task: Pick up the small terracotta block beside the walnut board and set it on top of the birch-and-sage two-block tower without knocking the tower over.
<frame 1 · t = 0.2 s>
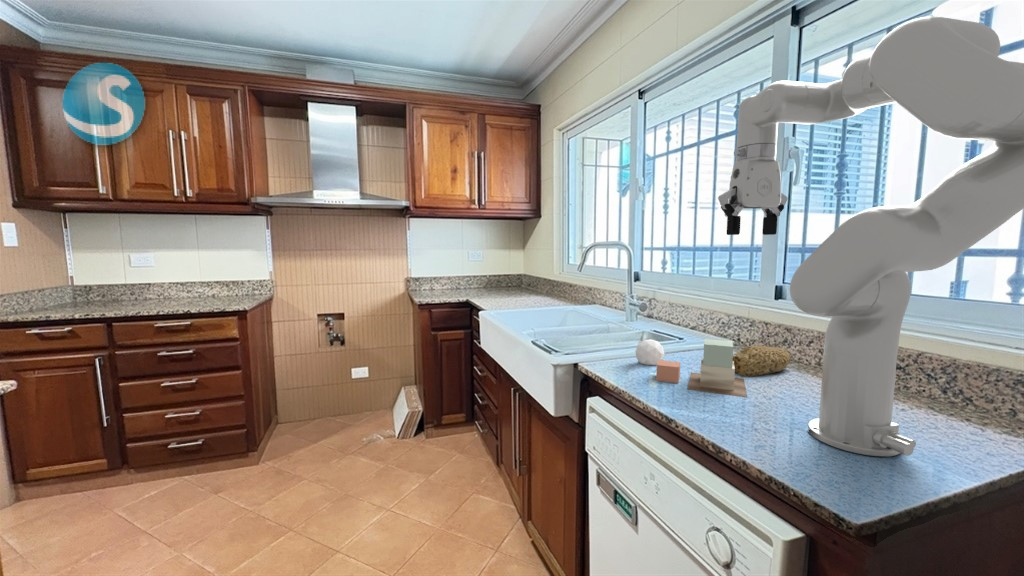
hand: (751, 234, 91), 36 cm above the worktop, tool pointing down, fingers open, 9 cm apart
sponge: (758, 372, 110), on the worktop
tower base block: (716, 383, 97), point 1 cm above the worktop, touching tower middle block, walnut board
ball: (649, 366, 116), on the worktop
tower middle block: (717, 363, 97), point 6 cm above the worktop, touching tower base block
terracotta block: (668, 383, 101), on the worktop
walnut board: (716, 387, 97), on the worktop
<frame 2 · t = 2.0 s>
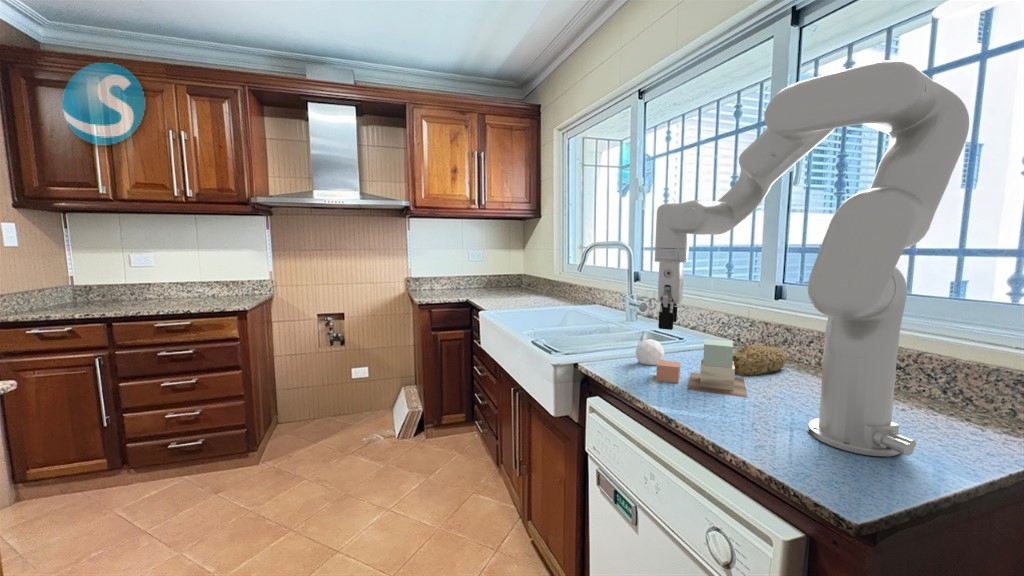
hand: (667, 325, 100), 14 cm above the worktop, tool pointing down, fingers open, 9 cm apart
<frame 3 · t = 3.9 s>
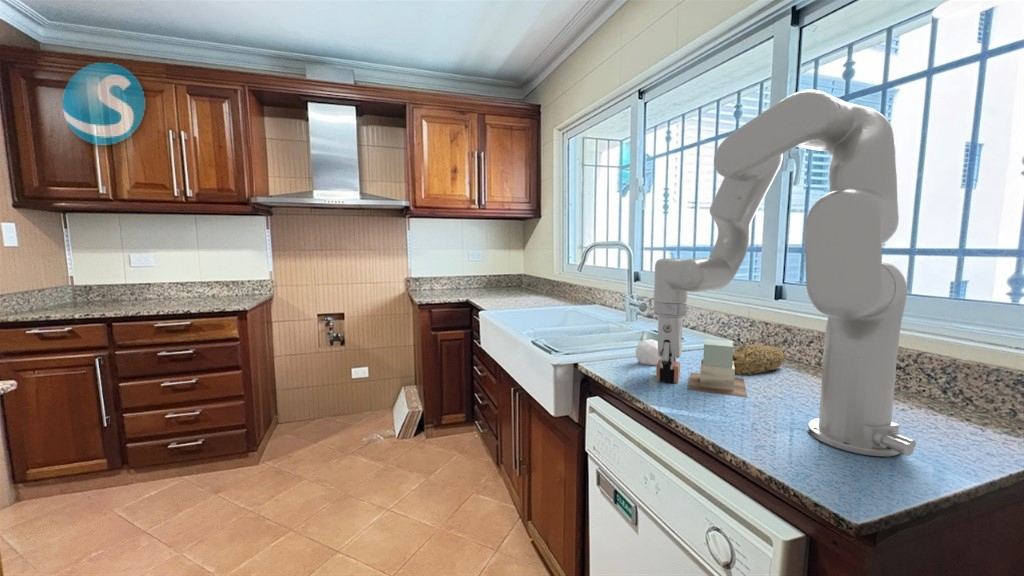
hand: (667, 380, 101), 0 cm above the worktop, tool pointing down, fingers closed on terracotta block, 5 cm apart
terracotta block: (667, 382, 101), on the worktop, touching gripper
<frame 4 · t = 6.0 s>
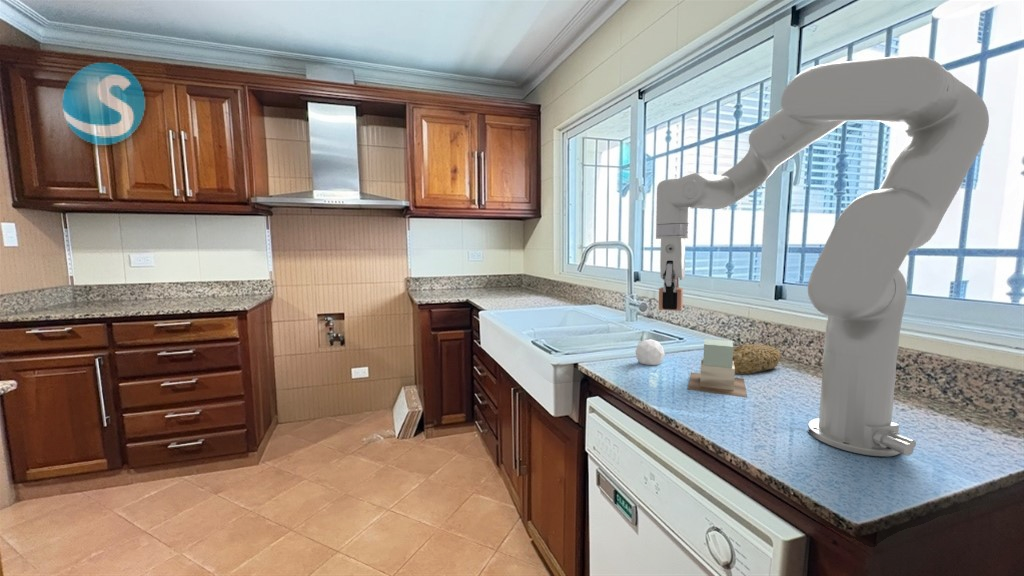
hand: (670, 306, 99), 19 cm above the worktop, tool pointing down, fingers closed on terracotta block, 5 cm apart
terracotta block: (670, 308, 99), point 19 cm above the worktop, touching gripper
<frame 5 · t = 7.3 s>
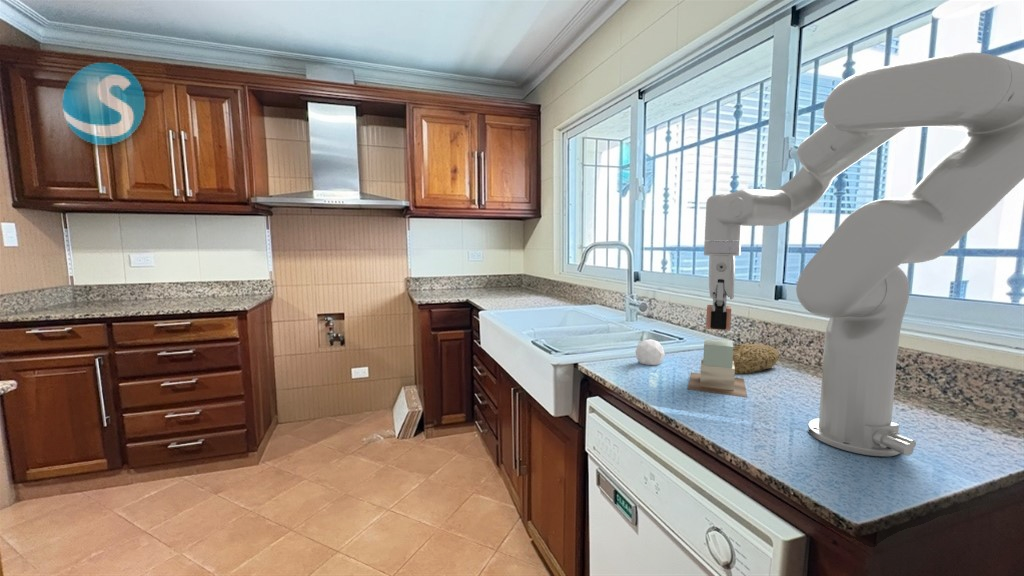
hand: (718, 325, 96), 15 cm above the worktop, tool pointing down, fingers closed on terracotta block, 5 cm apart
terracotta block: (717, 327, 96), point 15 cm above the worktop, touching gripper
when the fingers open (12 cm above the worktop, at t = 8.2 s): terracotta block stays where it is, resting on tower middle block.
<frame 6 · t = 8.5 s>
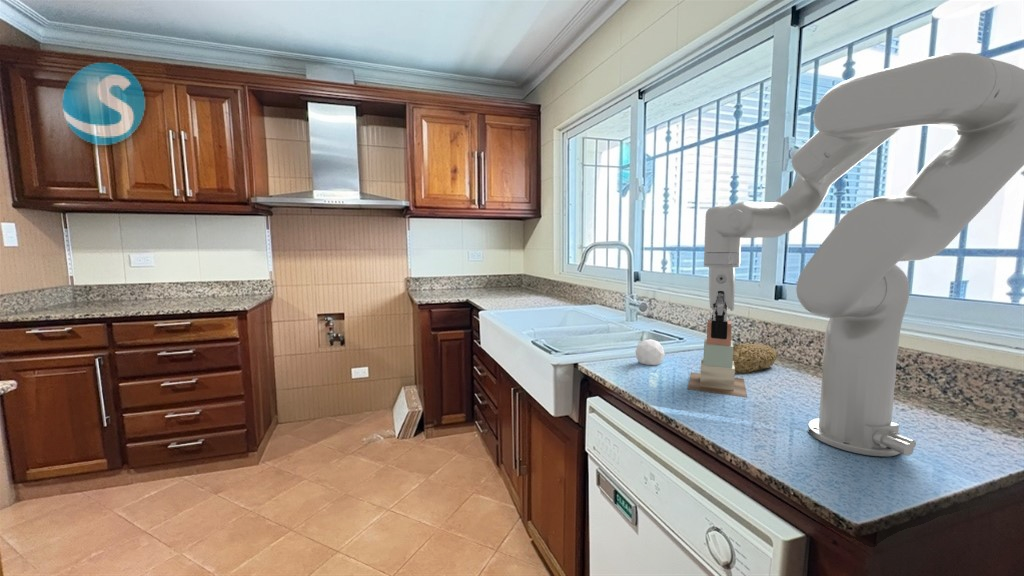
hand: (718, 334, 96), 13 cm above the worktop, tool pointing down, fingers open, 8 cm apart
tower middle block: (717, 363, 97), point 6 cm above the worktop, touching terracotta block, tower base block
terracotta block: (718, 342, 96), point 11 cm above the worktop, touching tower middle block
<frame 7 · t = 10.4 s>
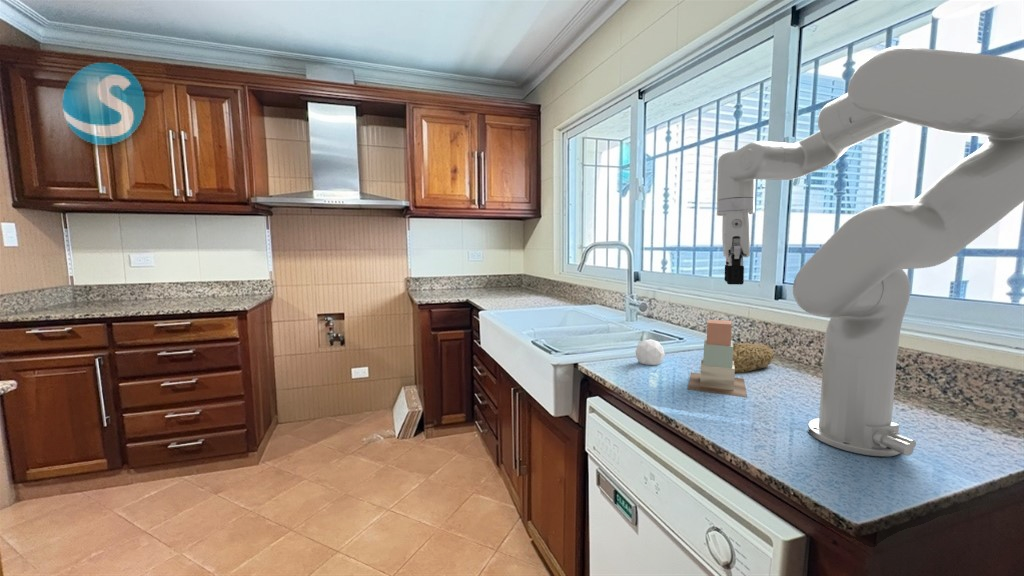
hand: (733, 282, 94), 25 cm above the worktop, tool pointing down, fingers open, 9 cm apart
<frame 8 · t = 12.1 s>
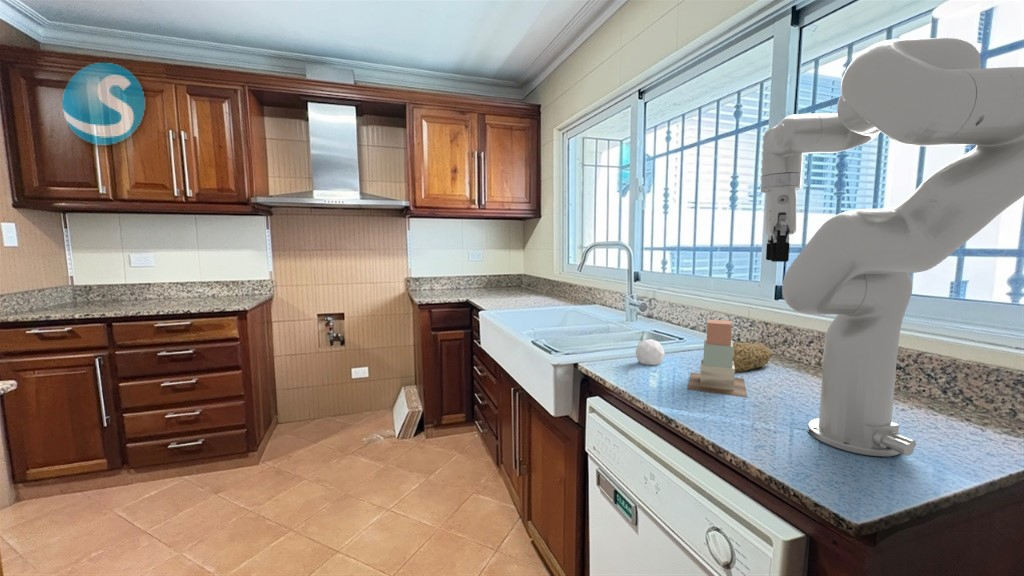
hand: (776, 260, 93), 30 cm above the worktop, tool pointing down, fingers open, 9 cm apart
at the end: terracotta block 0.1 cm off-centre on the tower middle block, point 5.0 cm above the tower middle block's base; tower middle block tilted 0°; tower middle block moved 0.0 cm from its start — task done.
